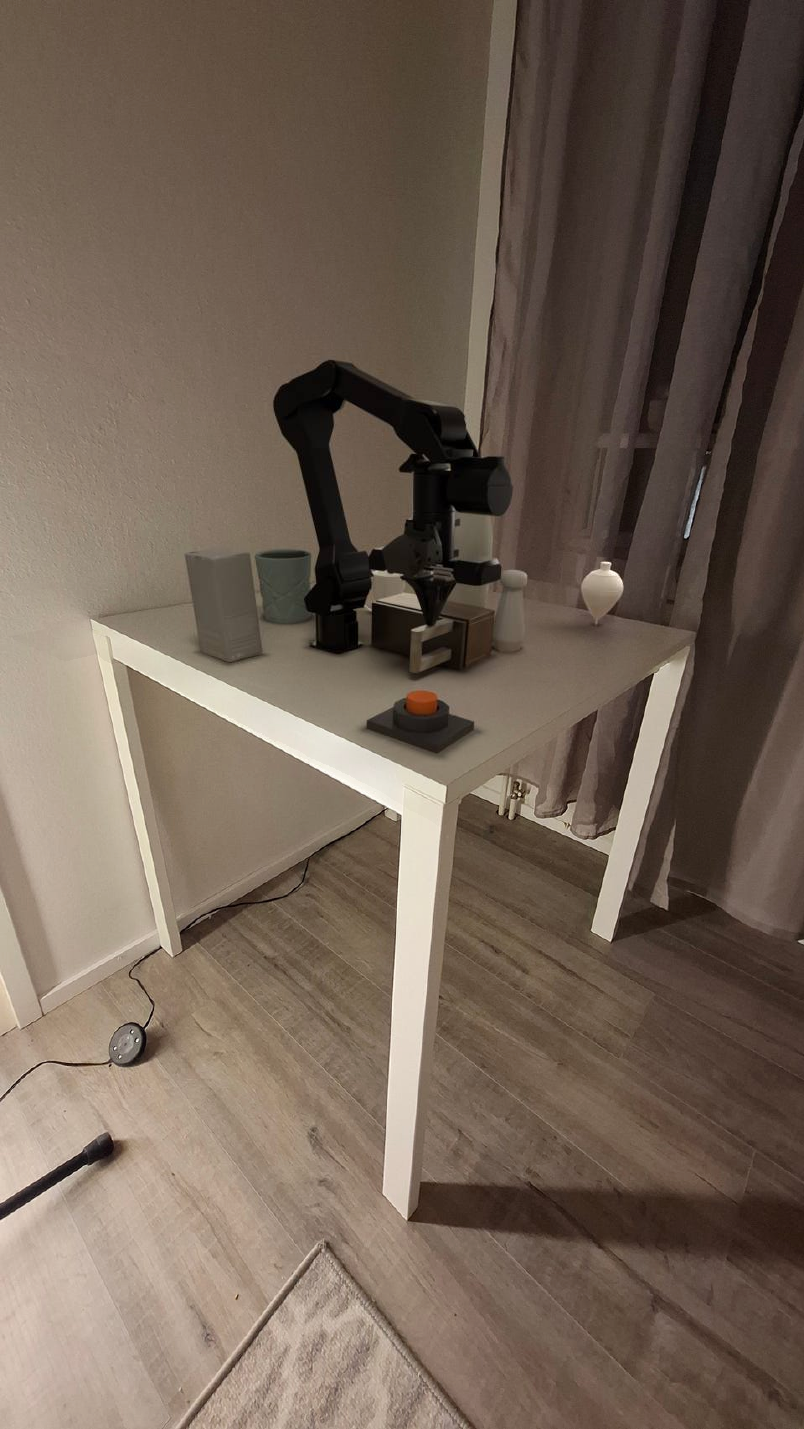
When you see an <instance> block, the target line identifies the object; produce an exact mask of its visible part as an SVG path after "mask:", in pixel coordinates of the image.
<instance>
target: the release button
mask: <svg viewBox="0 0 804 1429" xmlns="http://www.w3.org/2000/svg"><path fill="white" fill-rule="evenodd" d="M405 698H406V710H407V711H408V712H411V713H414V714H431V713H435V712H436V711H437V699H438V695H437V693H435V692H433V691H428V690H412V691H409V692H407V694H406V697H405Z"/></svg>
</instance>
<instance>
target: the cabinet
mask: <svg viewBox="0 0 804 1429" xmlns="http://www.w3.org/2000/svg"><path fill="white" fill-rule="evenodd" d="M376 602H379V603H384V604H388V605H393V606H397V607H401V608H406V609H410V610H415V611H419V612H422V610H421V607H420V604H419V601H418V598H417V596H416V594H415V593H410V592H403V593H401V594H397V595H394V596H390V597H386V598H383V599H379V600H376ZM495 615H496V610H495V609H491V608H487V607H484V608H482V607H477V606H471V605H466V604H461V603H456V602H451V601H446V603H445V605H444V607H443V609H442V611H441V613H440V616H441V617H446V618H450V619H455V620H459V621H464V622H466V632H465V645H464V658H463V668H464V669H467V668H468V667H470V666H473V665H475V664H477V663H479V662H481V661H483V660H485V659H486V658H489V657H491V655H492V647H493V645H492V637H493V626H494V619H495Z"/></svg>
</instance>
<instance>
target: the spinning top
mask: <svg viewBox="0 0 804 1429" xmlns="http://www.w3.org/2000/svg"><path fill="white" fill-rule="evenodd" d="M611 567H612V562H610V561H601V562H600V568H599V569H594V570H592V571H590V572H589V573H588V574H587V575H586V576H585V577H584V579H583V580H582V582H581V585H580V586H581V587H580V592H581V596H582V599H583V602H584V604H585V606H586V608H587V610H588V611H589V613H590V615H591V616H592V618H593V620H594V621H595V622H594V625H595V626H598V621H600V620H601V619H602V618H603V617H605V615H607V613H609V611H611V610H612V608H613V607H615V605H616V604H617V602H618V601H619V600H620V598H621V597H622V595H623V593H624V583H623V579H622V578H621V576H620V575H619V573H617V572H615V571H614V570H612V569H611Z"/></svg>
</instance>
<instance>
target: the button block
mask: <svg viewBox="0 0 804 1429" xmlns="http://www.w3.org/2000/svg"><path fill="white" fill-rule="evenodd" d="M474 729H475V721H474V720H471V719H467V718H464V717H460V716H458V715H454V714H451V713H450V705H448V704H447V703H446V702H444V700H442V699H439V698H437V711H436V712H435V713H431V714H414V713H411V712H408V711H407V710H406V697H403V698H400V699H398V700H396V701H395V702H394V704H393V707H390V708H388V709H386V710H385V711H382V712H381V713H378V714H376V715H375V716H371V717H370V718H368V719H366V730H369V731H371V732H374V733H376V734H379V735H382V736H384V737H388V738H391V739H394V740H395V741H400V742H402V743H405V744H407V745H411V746H413V747H416V748H419V749H422V750H425V751H428V752H430V753H433V754H436V755H438V754H440V753H441V752H443V751H444V750H446V749H447V748H448V747H450V746H452V745H453V744H455V743H456V742H458V741H459V740H461V739H462V738H464V737H465V736H467V735H468V734H470V733H472V732H473V731H474Z"/></svg>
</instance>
